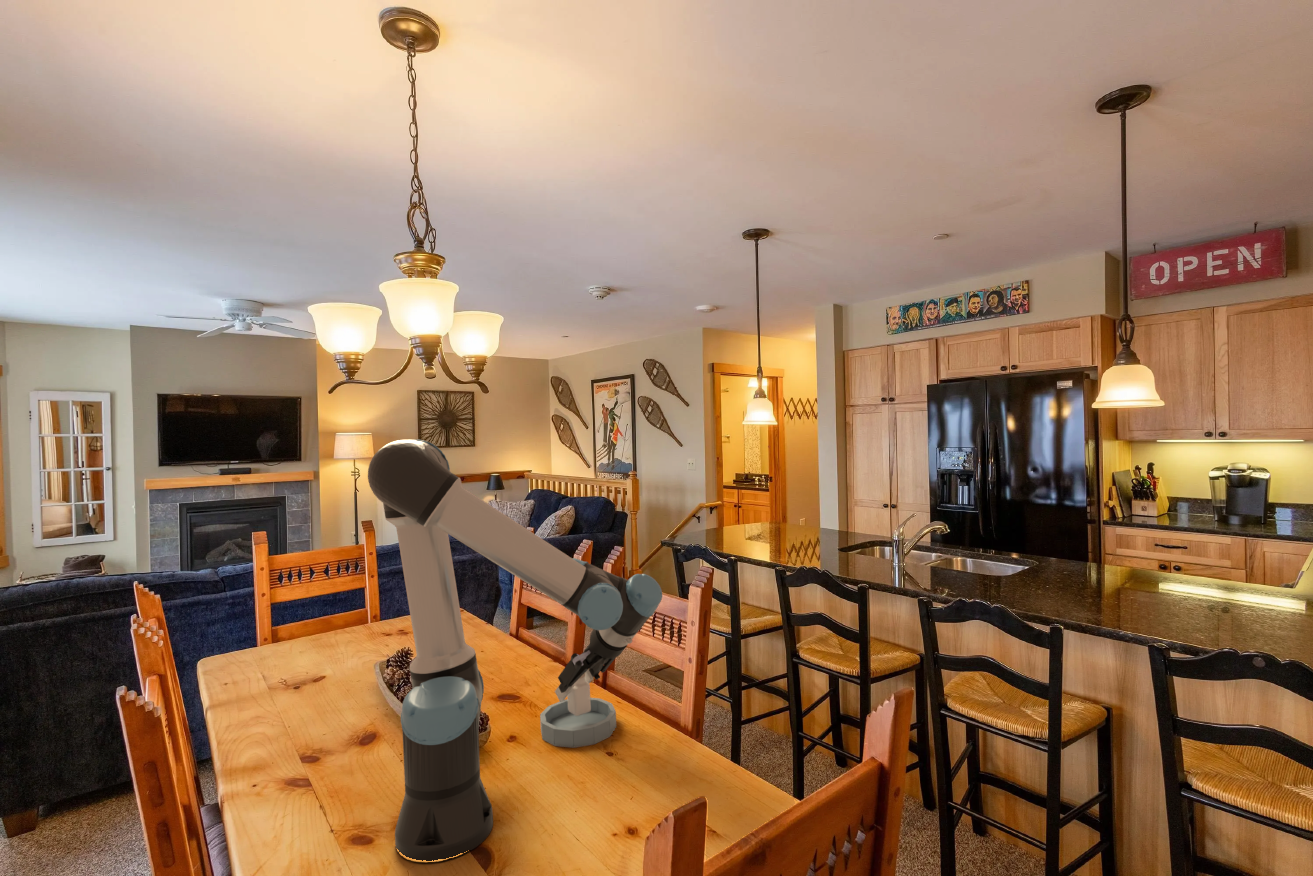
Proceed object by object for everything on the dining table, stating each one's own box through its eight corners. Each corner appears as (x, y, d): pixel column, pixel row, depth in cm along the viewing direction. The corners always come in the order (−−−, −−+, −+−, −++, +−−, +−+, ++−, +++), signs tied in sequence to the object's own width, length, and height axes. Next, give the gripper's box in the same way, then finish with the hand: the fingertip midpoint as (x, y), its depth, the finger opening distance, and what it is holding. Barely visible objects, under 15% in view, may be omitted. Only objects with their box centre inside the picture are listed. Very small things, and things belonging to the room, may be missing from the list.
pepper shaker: (575, 717, 134) (573, 673, 134) (567, 711, 138) (564, 668, 138) (592, 712, 137) (589, 668, 137) (583, 706, 140) (580, 663, 140)
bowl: (571, 755, 126) (571, 737, 126) (526, 731, 137) (526, 715, 137) (630, 726, 137) (629, 710, 137) (584, 706, 148) (583, 691, 148)
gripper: (589, 660, 120) (543, 721, 132) (653, 637, 133) (606, 694, 144) (571, 628, 124) (527, 690, 136) (635, 607, 136) (590, 666, 148)
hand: (568, 692), depth 140 cm, fingers closed on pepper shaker, 4 cm apart
